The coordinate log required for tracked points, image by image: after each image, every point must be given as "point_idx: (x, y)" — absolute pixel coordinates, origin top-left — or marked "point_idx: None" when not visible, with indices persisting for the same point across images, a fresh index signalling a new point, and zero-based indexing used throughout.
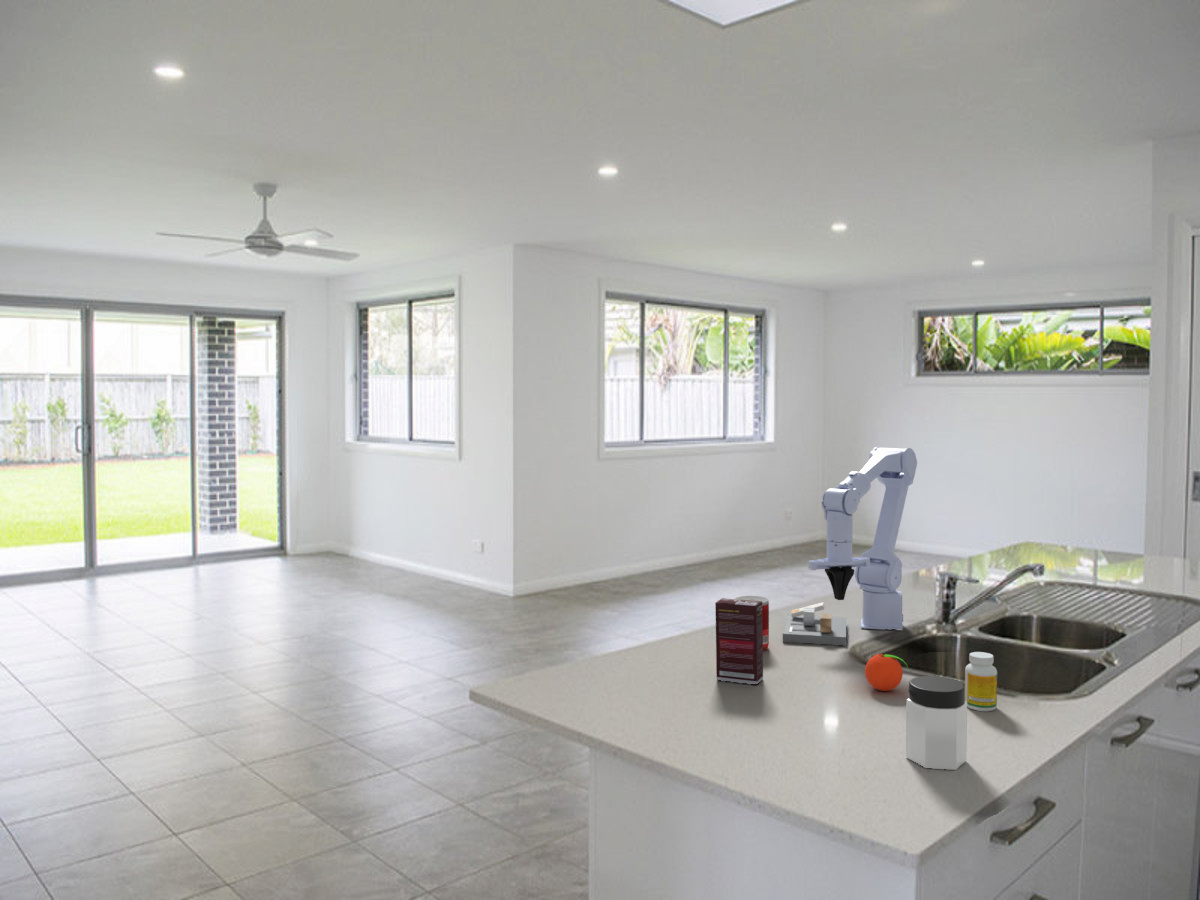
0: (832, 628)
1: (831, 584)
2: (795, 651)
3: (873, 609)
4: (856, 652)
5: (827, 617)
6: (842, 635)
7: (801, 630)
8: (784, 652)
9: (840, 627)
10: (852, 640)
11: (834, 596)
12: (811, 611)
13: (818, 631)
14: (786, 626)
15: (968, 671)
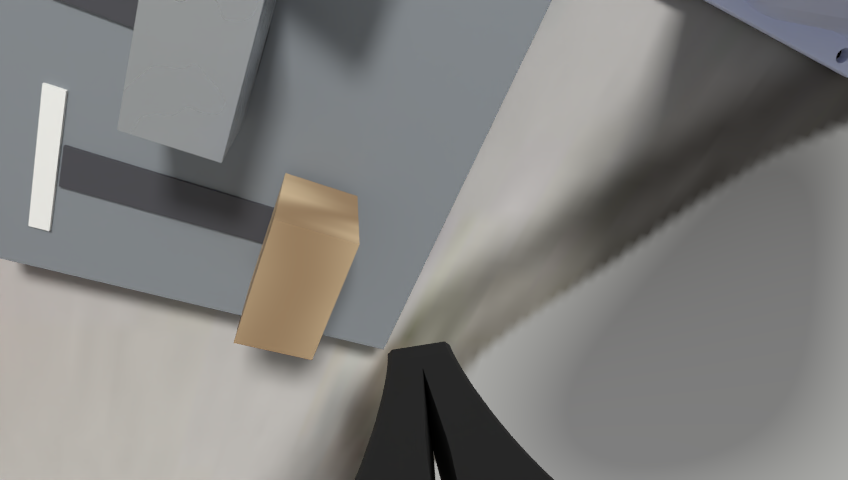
0: (374, 166)
1: (363, 467)
2: (88, 378)
3: (838, 9)
4: None
5: (295, 330)
6: (376, 320)
7: (130, 200)
8: (25, 389)
9: (440, 149)
10: (460, 227)
11: (388, 365)
12: (203, 129)
13: (250, 237)
14: (9, 54)
15: None
